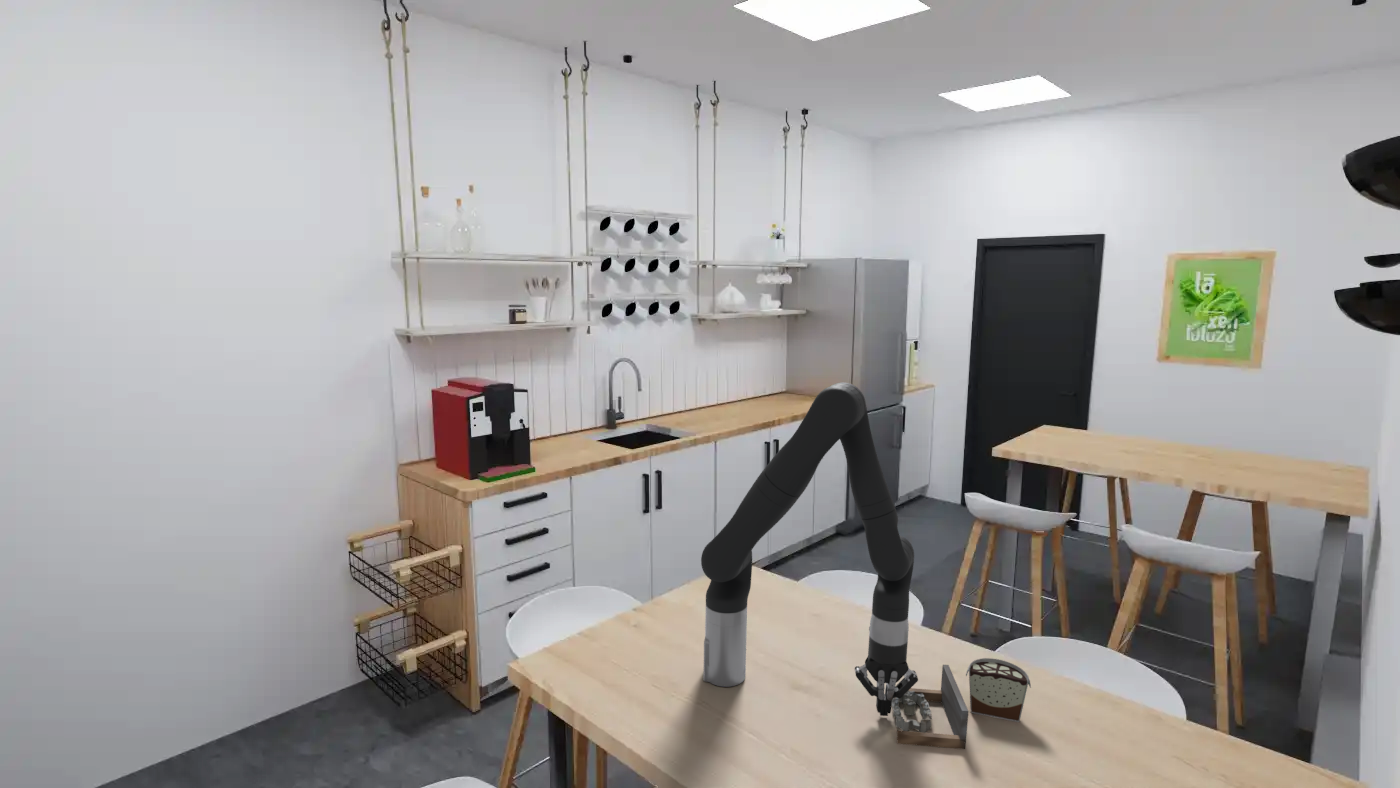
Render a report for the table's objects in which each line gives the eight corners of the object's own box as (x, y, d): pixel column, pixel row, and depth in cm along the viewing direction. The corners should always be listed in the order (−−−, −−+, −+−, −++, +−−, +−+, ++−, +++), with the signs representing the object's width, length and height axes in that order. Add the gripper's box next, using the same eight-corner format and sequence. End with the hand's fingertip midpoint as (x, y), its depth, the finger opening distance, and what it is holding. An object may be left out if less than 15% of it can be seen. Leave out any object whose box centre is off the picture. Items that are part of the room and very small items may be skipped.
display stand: (897, 743, 138) (900, 705, 136) (885, 694, 154) (887, 660, 152) (965, 749, 136) (968, 711, 135) (945, 699, 152) (948, 664, 151)
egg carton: (932, 737, 140) (933, 718, 140) (892, 732, 142) (894, 713, 141) (926, 705, 151) (927, 687, 150) (889, 700, 152) (890, 683, 152)
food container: (1024, 706, 150) (1028, 663, 149) (1027, 723, 144) (1031, 678, 143) (962, 695, 154) (965, 652, 152) (962, 711, 148) (966, 666, 147)
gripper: (856, 641, 140) (852, 722, 143) (926, 646, 138) (920, 727, 141) (853, 623, 147) (848, 700, 150) (918, 628, 146) (913, 705, 149)
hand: (883, 713), depth 146 cm, fingers closed
